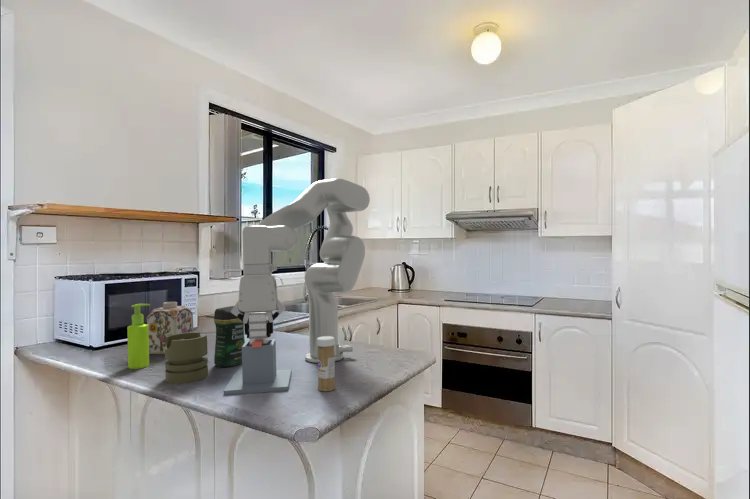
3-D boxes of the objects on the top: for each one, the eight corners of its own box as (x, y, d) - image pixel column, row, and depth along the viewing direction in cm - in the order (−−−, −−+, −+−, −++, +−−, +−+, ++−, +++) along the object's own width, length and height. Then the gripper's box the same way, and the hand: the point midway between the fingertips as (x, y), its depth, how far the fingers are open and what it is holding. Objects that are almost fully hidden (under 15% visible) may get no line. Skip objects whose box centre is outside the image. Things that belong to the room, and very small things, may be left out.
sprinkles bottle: (314, 389, 109) (313, 337, 109) (327, 385, 113) (326, 334, 112) (326, 393, 106) (325, 340, 106) (339, 388, 110) (338, 336, 110)
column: (269, 375, 118) (268, 311, 118) (267, 380, 114) (266, 314, 114) (252, 376, 118) (251, 312, 118) (250, 382, 113) (248, 315, 113)
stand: (291, 372, 125) (290, 331, 125) (287, 390, 109) (286, 343, 109) (235, 375, 123) (234, 334, 122) (223, 394, 107) (222, 346, 107)
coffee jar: (226, 369, 130) (225, 309, 130) (210, 366, 134) (208, 307, 134) (251, 361, 138) (249, 305, 138) (235, 358, 142) (233, 304, 142)
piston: (171, 342, 115) (159, 336, 123) (172, 386, 115) (160, 377, 123) (213, 335, 122) (198, 330, 130) (214, 377, 122) (199, 369, 131)
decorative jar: (166, 346, 163) (165, 300, 163) (195, 347, 161) (193, 300, 161) (146, 354, 151) (144, 304, 151) (176, 355, 149) (174, 304, 149)
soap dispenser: (156, 364, 138) (154, 303, 138) (136, 369, 131) (134, 305, 131) (144, 362, 140) (142, 302, 140) (124, 367, 134) (122, 305, 134)
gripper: (289, 269, 120) (291, 332, 121) (228, 270, 118) (229, 335, 118) (288, 270, 113) (289, 338, 113) (222, 272, 111) (224, 341, 111)
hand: (259, 336), depth 116 cm, fingers closed on column, 4 cm apart
